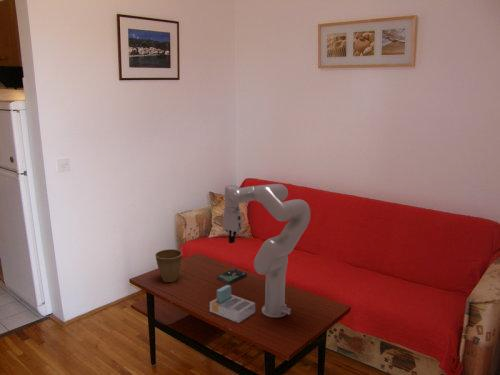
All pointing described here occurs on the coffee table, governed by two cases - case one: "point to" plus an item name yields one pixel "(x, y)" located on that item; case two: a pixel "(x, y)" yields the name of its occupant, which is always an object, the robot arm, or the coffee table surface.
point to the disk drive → (232, 276)
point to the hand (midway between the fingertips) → (231, 242)
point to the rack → (233, 308)
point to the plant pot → (169, 264)
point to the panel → (223, 294)
